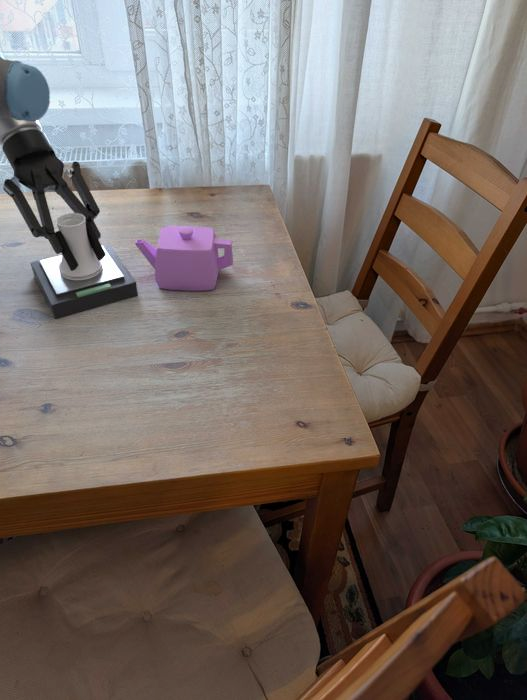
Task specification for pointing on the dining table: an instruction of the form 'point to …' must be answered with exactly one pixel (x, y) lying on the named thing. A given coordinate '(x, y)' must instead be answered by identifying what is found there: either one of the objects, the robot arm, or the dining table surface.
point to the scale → (83, 285)
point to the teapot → (187, 257)
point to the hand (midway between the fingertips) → (88, 262)
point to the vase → (78, 248)
